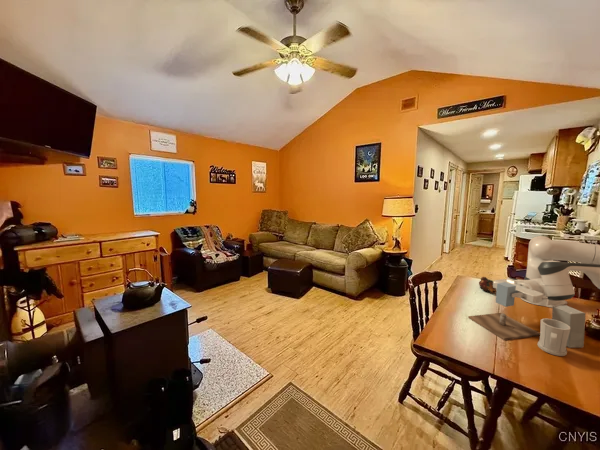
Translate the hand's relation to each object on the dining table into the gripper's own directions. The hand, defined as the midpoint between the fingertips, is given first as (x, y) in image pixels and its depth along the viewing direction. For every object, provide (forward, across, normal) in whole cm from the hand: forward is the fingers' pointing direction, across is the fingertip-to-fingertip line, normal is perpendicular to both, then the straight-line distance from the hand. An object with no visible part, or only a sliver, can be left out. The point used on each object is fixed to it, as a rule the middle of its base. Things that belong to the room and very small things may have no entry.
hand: (504, 292), depth 122 cm
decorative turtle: (-34, +35, -18) cm, 52 cm away
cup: (-2, -20, -18) cm, 27 cm away
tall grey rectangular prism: (-1, 0, -6) cm, 6 cm away
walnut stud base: (-1, 0, -18) cm, 18 cm away
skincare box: (-14, -17, -18) cm, 29 cm away
